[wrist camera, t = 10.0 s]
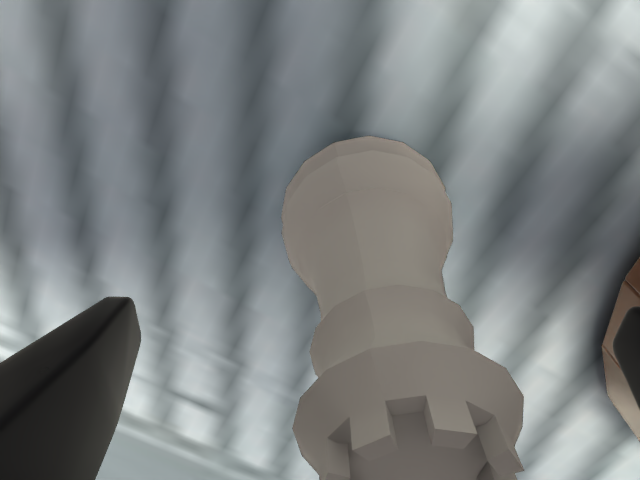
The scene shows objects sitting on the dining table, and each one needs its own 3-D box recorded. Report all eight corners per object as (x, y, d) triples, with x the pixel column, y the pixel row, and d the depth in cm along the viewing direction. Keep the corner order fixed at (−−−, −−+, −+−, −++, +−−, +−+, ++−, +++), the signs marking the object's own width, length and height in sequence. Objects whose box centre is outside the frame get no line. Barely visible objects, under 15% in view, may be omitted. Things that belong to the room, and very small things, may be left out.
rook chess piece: (254, 168, 12) (168, 433, 5) (417, 102, 11) (590, 309, 4) (319, 293, 14) (322, 603, 7) (460, 246, 13) (622, 544, 6)
